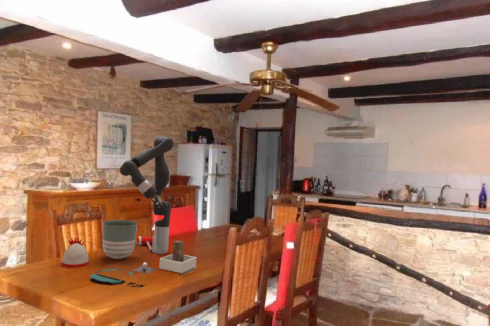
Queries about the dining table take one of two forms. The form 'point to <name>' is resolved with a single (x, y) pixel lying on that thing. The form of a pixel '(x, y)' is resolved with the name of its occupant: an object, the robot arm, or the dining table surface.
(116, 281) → the cutlery set
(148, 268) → the stud plate
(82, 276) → the dining table surface
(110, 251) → the planter
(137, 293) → the dining table surface
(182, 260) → the strut
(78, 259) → the kitchen timer
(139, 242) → the toy hammer
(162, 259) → the bin
